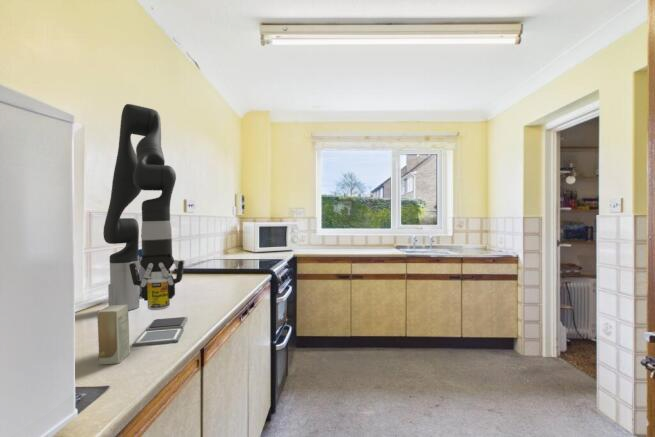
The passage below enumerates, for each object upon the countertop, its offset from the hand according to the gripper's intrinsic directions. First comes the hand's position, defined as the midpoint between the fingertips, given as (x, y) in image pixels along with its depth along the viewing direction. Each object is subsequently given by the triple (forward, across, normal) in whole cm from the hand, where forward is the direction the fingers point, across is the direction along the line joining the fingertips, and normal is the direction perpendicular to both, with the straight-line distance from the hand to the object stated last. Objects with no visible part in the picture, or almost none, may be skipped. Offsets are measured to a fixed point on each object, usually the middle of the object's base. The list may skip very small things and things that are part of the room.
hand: (158, 298), depth 101 cm
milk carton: (+11, +16, -66) cm, 68 cm away
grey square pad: (+11, 0, 0) cm, 11 cm away
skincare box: (+11, +7, +14) cm, 19 cm away
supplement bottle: (+3, 0, 0) cm, 3 cm away
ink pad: (+11, 0, -11) cm, 16 cm away
